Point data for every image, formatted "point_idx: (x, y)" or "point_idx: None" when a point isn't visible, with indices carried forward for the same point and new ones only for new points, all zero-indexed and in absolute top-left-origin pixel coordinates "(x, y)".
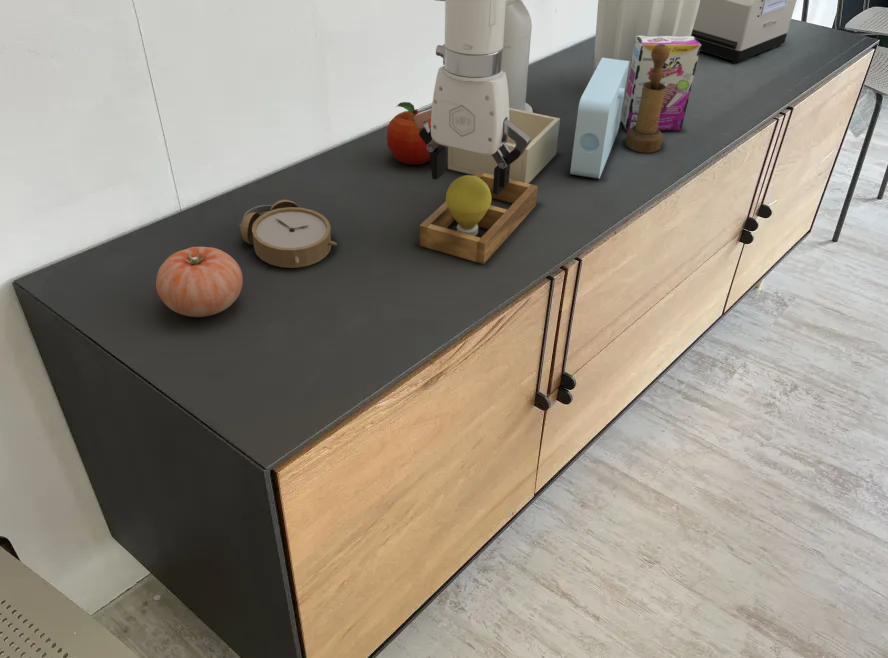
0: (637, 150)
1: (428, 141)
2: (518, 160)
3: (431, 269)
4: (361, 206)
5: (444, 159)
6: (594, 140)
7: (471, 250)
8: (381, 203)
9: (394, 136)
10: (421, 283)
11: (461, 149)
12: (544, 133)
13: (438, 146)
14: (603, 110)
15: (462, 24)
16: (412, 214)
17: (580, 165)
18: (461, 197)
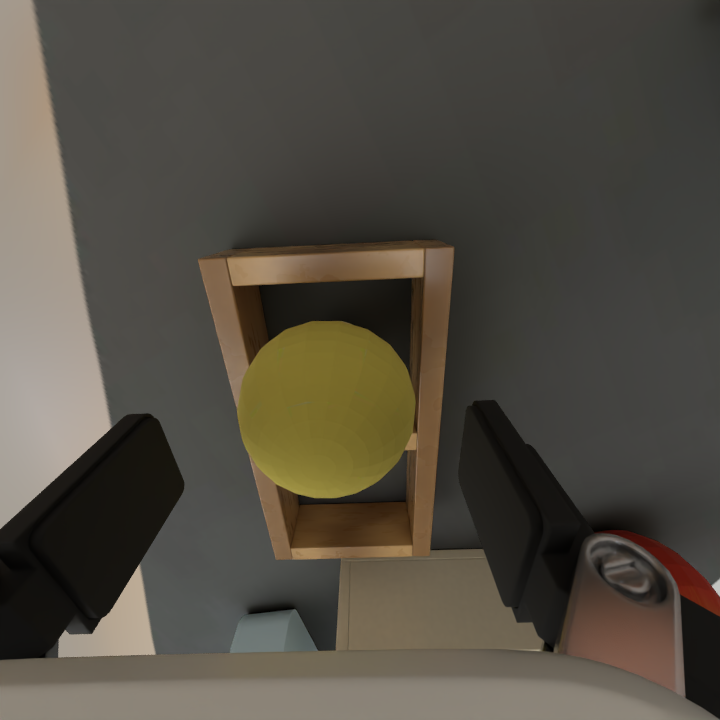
0: None
1: (689, 636)
2: (358, 614)
3: (340, 130)
4: (672, 340)
5: (482, 527)
6: None
7: (259, 251)
8: (618, 378)
9: (699, 592)
10: (321, 12)
11: (219, 663)
12: None
13: (561, 606)
14: None
15: None
16: (520, 371)
17: (269, 635)
18: (308, 356)
